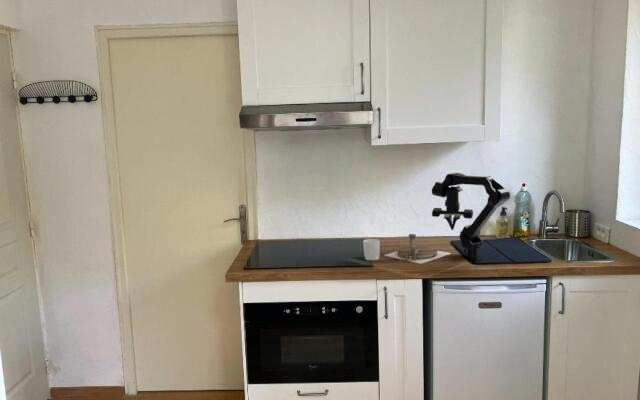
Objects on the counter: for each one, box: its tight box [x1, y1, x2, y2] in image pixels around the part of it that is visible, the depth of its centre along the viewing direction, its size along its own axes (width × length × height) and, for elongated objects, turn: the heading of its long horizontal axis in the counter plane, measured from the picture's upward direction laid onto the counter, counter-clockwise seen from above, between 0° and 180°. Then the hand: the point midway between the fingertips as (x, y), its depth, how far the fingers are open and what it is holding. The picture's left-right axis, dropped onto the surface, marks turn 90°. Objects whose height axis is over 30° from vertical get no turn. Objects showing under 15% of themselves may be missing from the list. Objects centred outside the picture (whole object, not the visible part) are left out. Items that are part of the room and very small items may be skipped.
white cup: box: [362, 238, 381, 261], centre depth 240 cm, size 8×8×10 cm
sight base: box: [383, 250, 452, 265], centre depth 243 cm, size 23×23×4 cm
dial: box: [397, 233, 438, 259], centre depth 243 cm, size 19×19×11 cm
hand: (452, 229), depth 245 cm, fingers closed
